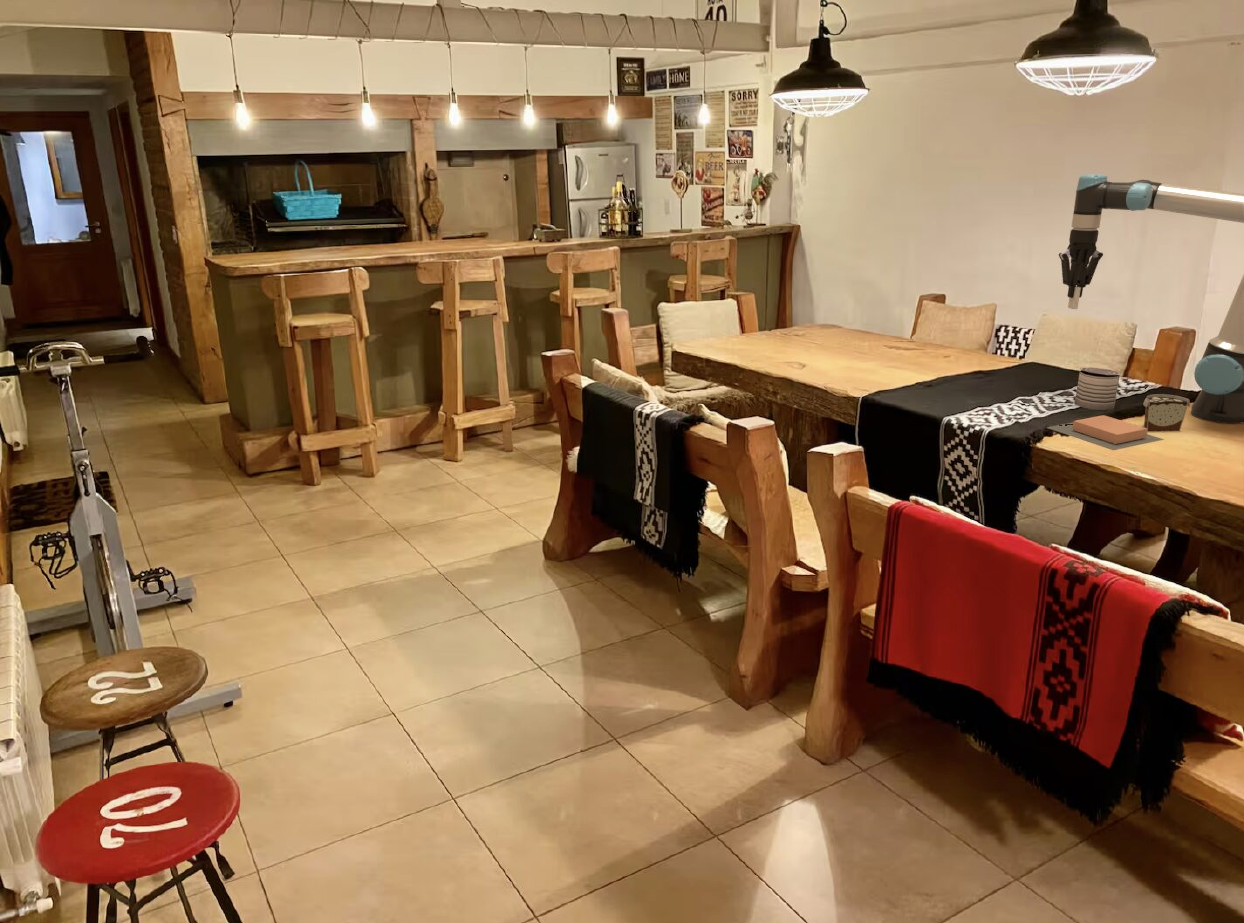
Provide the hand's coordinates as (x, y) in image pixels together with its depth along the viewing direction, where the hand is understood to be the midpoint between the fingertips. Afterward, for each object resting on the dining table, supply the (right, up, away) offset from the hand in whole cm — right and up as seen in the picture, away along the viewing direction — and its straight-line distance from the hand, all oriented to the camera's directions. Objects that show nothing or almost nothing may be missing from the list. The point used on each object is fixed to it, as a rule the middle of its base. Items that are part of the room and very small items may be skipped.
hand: (1072, 308), depth 283 cm
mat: (-3, -40, -23) cm, 46 cm away
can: (+8, -30, +3) cm, 31 cm away
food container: (+15, -38, -19) cm, 45 cm away
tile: (-5, -36, -19) cm, 41 cm away
